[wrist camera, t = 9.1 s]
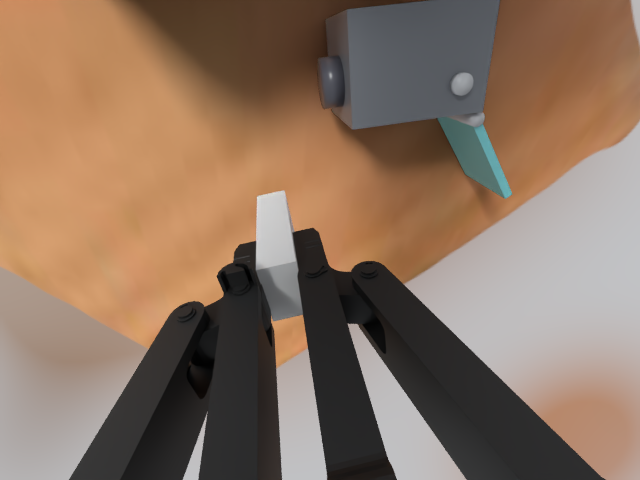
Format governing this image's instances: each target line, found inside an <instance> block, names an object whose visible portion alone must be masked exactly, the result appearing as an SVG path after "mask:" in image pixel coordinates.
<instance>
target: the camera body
mask: <svg viewBox="0 0 640 480" xmlns="http://www.w3.org/2000/svg"><path fill="white" fill-rule="evenodd" d="M499 4H500V0H429V1H420V2H410V3H401V4H392V5H382V6H373V7H364V8H354V9H347V10H344V11H342V12H340V13H338V14H336V15H334V16H332V17H329V18H327V19H325V22H326V35H327V49H328V57H320V58H318V62H317V76H318V87H319V94H320V100H321V104H322V107H323V109H329V108H332V112H333V113H334V114H335V115H336V116H337V117H339V118H340V119H341V120H342V121H343V122H344V123H345V124H347V125H348V126H349V127H350V128H351V129H352V130H354V129H362V128H369V127H376V126H383V125H390V124H398V123H405V122H412V121H419V120H427V119H434V118H441V117H448V116H455V115H463V114H470V113H477V112H483V108H484V101H485V95H486V88H487V82H488V75H489V69H490V62H491V56H492V49H493V43H494V36H495V30H496V23H497V17H498V10H499Z"/></svg>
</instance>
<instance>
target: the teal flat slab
mask: <svg viewBox="0 0 640 480" xmlns="http://www.w3.org/2000/svg"><path fill="white" fill-rule="evenodd" d="M437 119H438V121H439V123H440V125H441V127H442V129H443V131H444V133H445V135H446V137H447V139H448V141H449V143H450V145H451V147H452V149H453V151H454V153H455V155H456V157H457V159H458V161H459V163H460V165H461V167H462V169H463V171H464V173H465V175H467V176H469V177H470V178H472V179H474V180H475V181H477V182H478V183H480V184H482V185H483V186H485V187H487V188H488V189H490V190H492V191H493V192H495V193H496V194H498V195H500V196H501V197H503V198H505V199H506V198H507V197H509V196H510V195H512V192H511V190H510V187H509V185H508V183H507V180H506V178H505V175H504V173H503V171H502V168H501V166H500V164H499V161H498V159H497V157H496V154H495V152H494V149H493V147H492V145H491V142H490V140H489V138H488V135H487V133H486V130H485V128H484V126H483V122H484V119H485V115H484V113H483V112H477V113H470V114H463V115H455V116H448V117H441V118H437Z"/></svg>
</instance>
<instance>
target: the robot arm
mask: <svg viewBox="0 0 640 480" xmlns="http://www.w3.org/2000/svg"><path fill="white" fill-rule="evenodd" d="M217 278H218V281H219V283H220V285H221V287H222V290H223V292H224V296H223V297H222V298H221V299H220V300H218V301H216V302H214V303H212V304H210V305H208V306H206V307H204V305H203V304H202V303H200V302H195V301H193V302H188V303H185V304H183V305H180V306H179V307H178V308H176V309H175V310H174V311H173V312H172V313H171V314H170V315H169V317H168V319H167V320H166V322H165V324H164V325H163V327H162V328H161V330H160V332H159V333H158V335H157V337H156V338H155V340H154V342H153V343H152V345H151V346H150V348H149V350H148V351H147V353H146V355H145V356H144V358H143V360H142V361H141V363H140V364H139V366H138V368H137V369H136V371H135V373H134V374H133V376H132V378H131V379H130V381H129V383H128V384H127V386H126V387H125V389H124V391H123V392H122V394H121V396H120V397H119V399H118V400H117V402H116V404H115V405H114V407H113V409H112V410H111V412H110V414H109V415H108V417H107V419H106V420H105V422H104V424H103V425H102V427H101V429H100V430H99V432H98V433H97V435H96V436H95V438H94V440H93V442H92V443H91V445H90V446H89V448H88V450H87V451H86V453H85V454H84V456H83V458H82V459H81V461H80V463H79V464H78V466H77V468H76V469H75V471H74V472H73V474H72V476H71V477H70V479H69V480H183V477H184V474H185V472H186V469H187V466H188V463H189V461H190V458H191V455H192V452H193V450H194V447H195V444H196V442H197V438H198V436H199V433H200V431H201V428H202V425H203V422H204V420H205V417H206V414H207V411H208V414H207V422H206V428H205V436H204V443H203V450H202V457H201V465H200V472H199V480H282V473H281V453H280V437H279V436H280V435H279V415H278V398H277V397H278V396H277V377H276V357H275V338H274V329H273V326H272V323H271V316H272V319H273V321H277V320H281V319H286V318H290V317H294V316H299V315H303V317H304V324H305V330H306V337H307V344H308V350H309V357H310V363H311V370H312V377H313V382H314V389H315V396H316V402H317V410H318V416H319V423H320V430H321V435H322V443H323V449H324V456H325V463H326V469H327V480H397V479H396V476H395V473H394V470H393V468H392V466H391V464H390V462H389V460H388V457H387V455H386V451H385V448H384V445H383V441H382V438H381V434H380V431H379V428H378V424H377V421H376V418H375V414H374V411H373V408H372V404H371V401H370V398H369V394H368V391H367V388H366V385H365V381H364V378H363V375H362V371H361V368H360V365H359V361H358V358H357V354H356V351H355V348H354V345H353V341H352V338H351V335H350V332H349V328H348V324H347V323H349V324H358V325H359V328H360V329H361V330H362V332H363V333H364V335H365V336H366V338H367V339H368V340H369V342H370V343H371V345H372V346H373V347H374V349H375V350H376V352H377V353H378V355H379V356H380V357H381V359H382V360H383V362H384V363H385V364H386V366H387V367H388V369H389V370H390V371H391V373H392V374H393V376H394V377H395V379H396V380H397V381H398V383H399V384H400V386H401V387H402V389H403V390H404V391H405V393H406V394H407V396H408V397H409V398H410V400H411V401H412V403H413V404H414V406H415V407H416V408H417V410H418V411H419V413H420V414H421V415H422V417H423V418H424V420H425V421H426V423H427V424H428V425H429V427H430V428H431V430H432V431H433V432H434V434H435V435H436V437H437V438H438V440H439V441H440V442H441V444H442V445H443V447H444V448H445V450H446V451H447V452H448V454H449V455H450V457H451V458H452V459H453V461H454V462H455V464H456V465H457V466H458V468H459V469H460V471H461V472H462V474H463V475H464V476H465V478H466V479H467V480H605V479H604V478H602V477H601V476H600V475H599V474H598V473H597V472H596V471H594V469H592V468H591V467H590V466H589V465H588V464H587V463H586V462H585V461H584V460H583V459H582V458H581V457H580V456H579V455H578V454H577V453H576V452H575V451H574V450H573V449H572V448H571V447H570V446H569V445H568V444H567V443H566V442H565V441H563V439H562V438H561V437H560V436H559V435H558V434H556V432H554V431H553V430H552V429H551V428H550V427H549V426H548V425H547V424H546V423H545V422H544V421H543V420H542V419H541V418H540V417H539V416H538V415H537V414H536V413H535V412H534V411H533V410H532V409H531V408H530V407H529V406H528V405H527V404H526V403H525V402H524V401H523V400H522V399H521V398H520V397H519V396H517V395H516V394H515V393H514V392H513V391H512V390H511V389H510V388H509V387H508V386H507V385H506V384H505V383H504V382H503V381H502V380H501V379H500V378H499V377H498V376H497V375H496V374H495V373H494V372H493V371H492V370H491V369H490V368H488V367H487V365H486V364H485V363H484V362H483V361H482V360H480V359H479V358H478V357H477V356H476V355H475V354H474V353H473V352H472V351H471V350H470V349H469V348H468V347H467V346H466V345H465V344H464V343H463V342H462V341H461V340H460V339H459V338H458V337H457V336H456V335H455V334H454V333H453V332H452V331H451V330H450V329H449V328H448V327H447V326H446V325H445V324H443V323H442V322H441V321H440V320H439V319H438V318H437V317H436V316H435V315H434V314H433V313H432V312H431V311H430V310H429V309H428V308H427V307H426V306H425V305H424V304H423V303H422V302H421V301H420V300H419V299H418V298H417V297H416V296H415V295H413V293H412V292H411V291H410V290H409V289H408V288H407V287H405V286H404V285H403V284H402V283H401V282H400V281H399V280H398V279H397V278H396V277H395V276H394V275H393V274H392V273H391V272H390V271H389V270H388V269H387V268H386V267H385V266H384V265H382V264H381V263H379V262H375V261H365V262H361V263H359V264H357V265H355V266H354V268H353V269H352V271H351V272H341V271H337V270H334V269H332V268H331V267H330V266H329V264H328V262H327V259H326V255H325V252H324V249H323V245H322V242H321V239H320V235H319V232H317V231H316V230H315V229H314V228H310V229H305V230H301V231H296V232H294V228H293V224H292V220H291V215H290V211H289V207H288V203H287V199H286V194H285V190H284V191H279V192H274V193H270V194H265V195H260V196H257V230H256V241H254V242H249V243H245V244H240V245H239V246H238V248H237V249H236V250H235V252H234V261H233V263H231V264H228V265H227V266H225V267H223V268H222V269H221V270H220V271H219V272H218V275H217Z"/></svg>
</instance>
